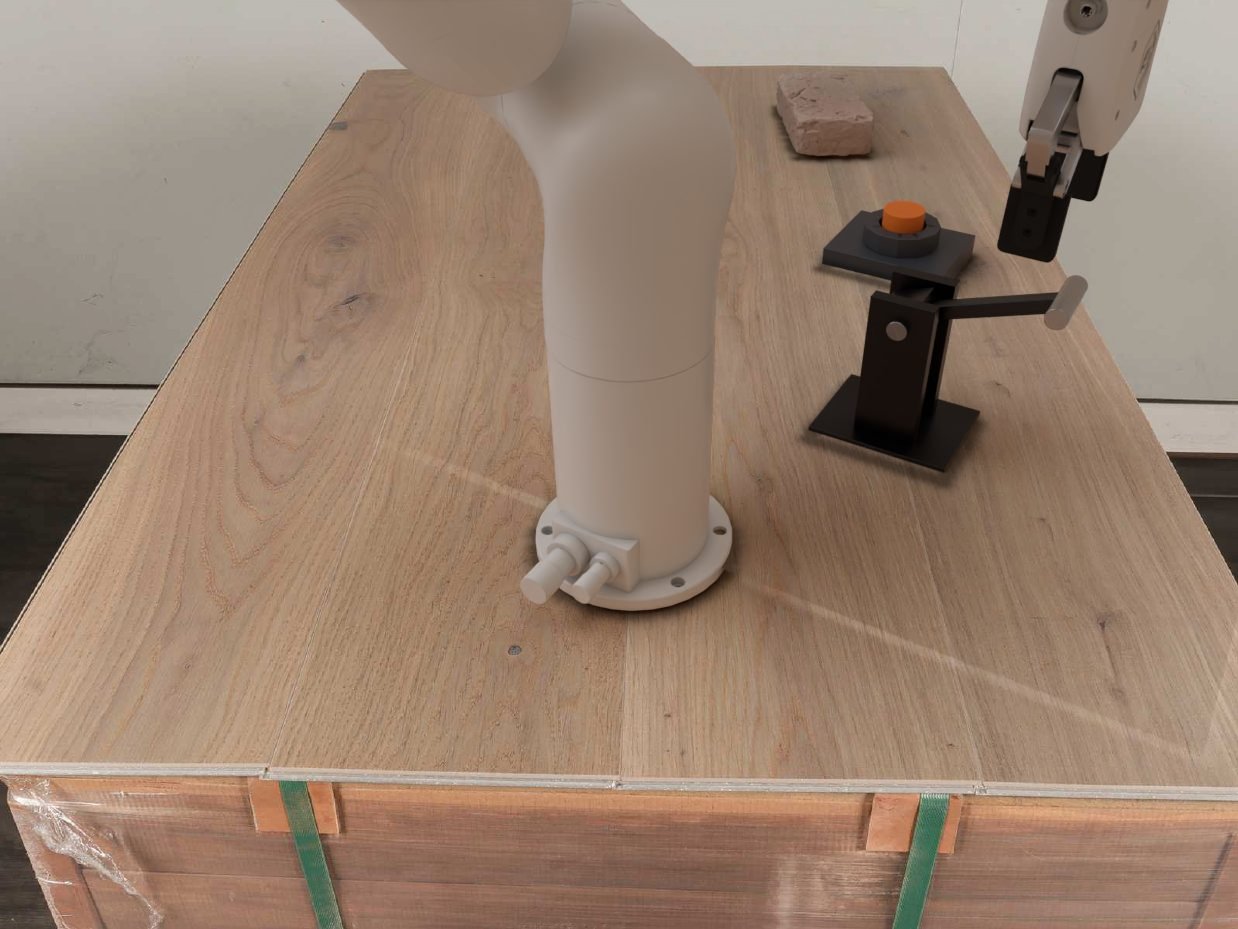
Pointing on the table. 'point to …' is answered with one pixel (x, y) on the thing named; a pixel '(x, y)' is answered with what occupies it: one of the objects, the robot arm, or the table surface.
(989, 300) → the lever
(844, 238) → the button box
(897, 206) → the button
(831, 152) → the brick
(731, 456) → the table surface
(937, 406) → the bracket
